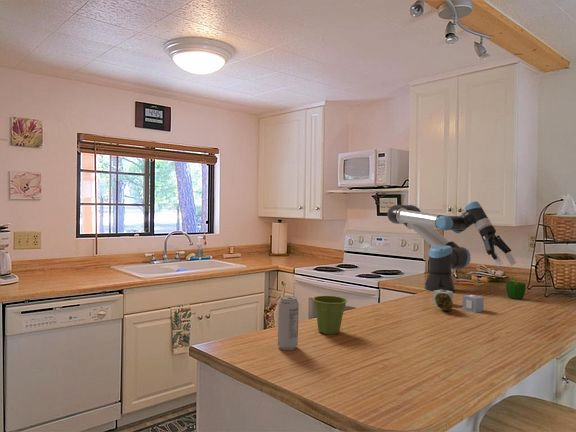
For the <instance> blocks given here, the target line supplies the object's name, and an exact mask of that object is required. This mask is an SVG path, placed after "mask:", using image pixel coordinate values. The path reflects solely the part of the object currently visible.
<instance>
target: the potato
mask: <svg viewBox="0 0 576 432" xmlns="http://www.w3.org/2000/svg"><path fill="white" fill-rule="evenodd" d="M435 302H436V304H435V305H436V306H437V307H438V308H440V310H442V311H445V312H449V311H452V309H453V307H454V304H453V303H452V300H451V298H450V296H449V295H448V294H445V293H438V294H437V295H436V296H435Z"/></svg>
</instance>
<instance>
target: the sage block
mask: <svg viewBox="0 0 576 432" xmlns="http://www.w3.org/2000/svg"><path fill="white" fill-rule="evenodd" d="M432 293H433V295H432V297H433V298H432V299H433V300H432V304H433V305H437V304H436V302H435V296H436V295H437V294H438V293H445V294H448V295H449V296H450V298H451V300H452V303H453V301H454V291H447V290H435V291H433V292H432Z"/></svg>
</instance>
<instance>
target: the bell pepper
mask: <svg viewBox="0 0 576 432" xmlns="http://www.w3.org/2000/svg"><path fill="white" fill-rule="evenodd" d="M510 279H511V280H513V281H507V282H506V284H505V288H506V293H507V297H508V298H510V299H514V300H520V299H521V300H522V299H524V296H525V294H526V289H527V285H526V283H524V282H520V281H517V279H516V278H515V277H511V278H510Z"/></svg>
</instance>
